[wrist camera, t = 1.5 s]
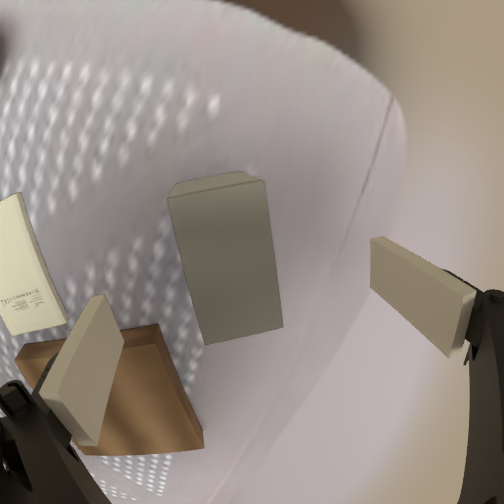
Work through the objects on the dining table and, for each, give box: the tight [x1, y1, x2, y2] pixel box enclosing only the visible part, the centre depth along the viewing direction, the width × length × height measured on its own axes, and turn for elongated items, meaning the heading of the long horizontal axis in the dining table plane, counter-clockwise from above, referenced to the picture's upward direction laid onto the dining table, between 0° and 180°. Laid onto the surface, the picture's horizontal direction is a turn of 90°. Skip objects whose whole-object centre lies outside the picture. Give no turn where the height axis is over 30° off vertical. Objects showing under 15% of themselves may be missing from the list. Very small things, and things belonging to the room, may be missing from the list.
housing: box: [167, 171, 284, 345], centre depth 20 cm, size 5×9×8 cm, turn 9°
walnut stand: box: [14, 324, 204, 456], centre depth 26 cm, size 16×16×3 cm
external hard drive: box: [0, 192, 69, 336], centre depth 21 cm, size 2×8×12 cm
